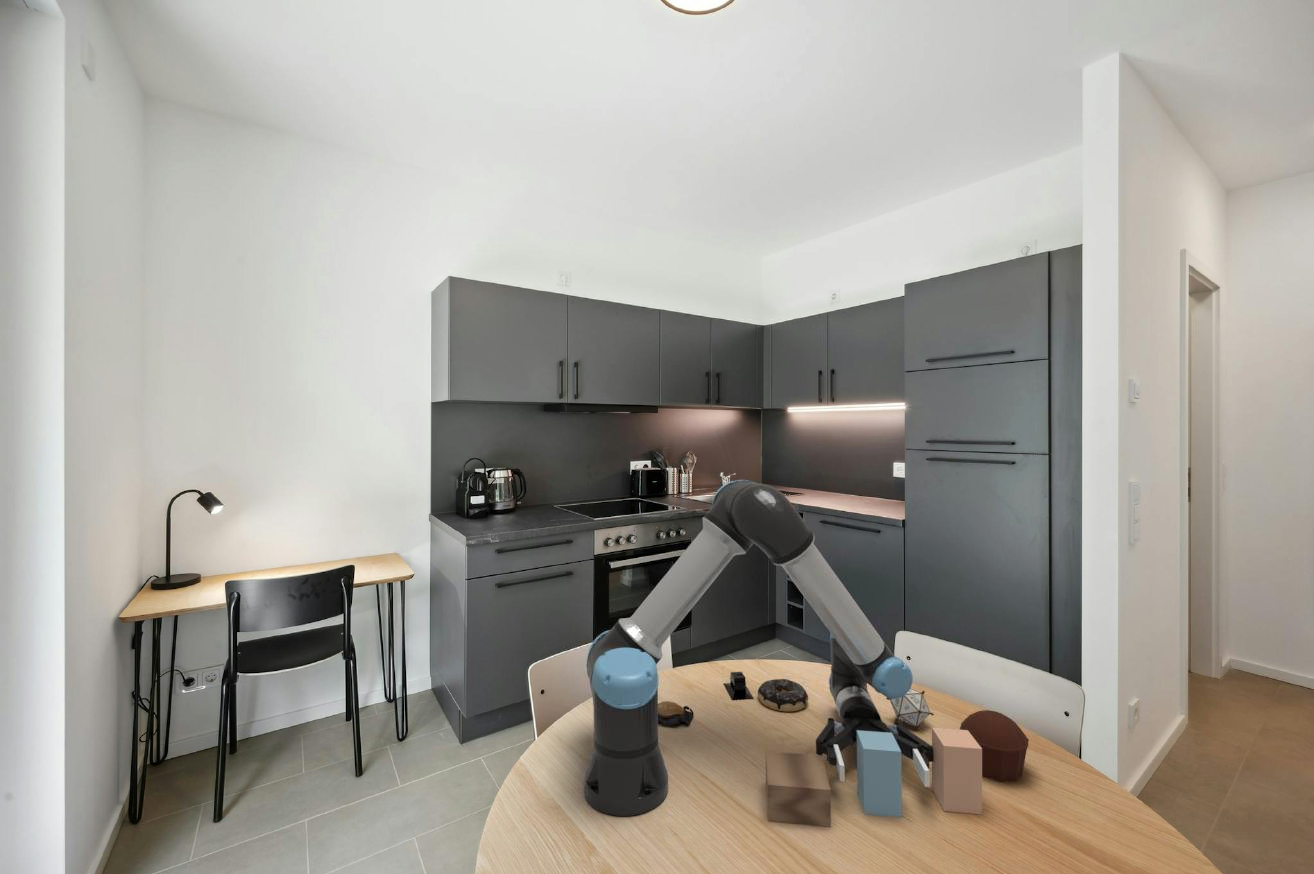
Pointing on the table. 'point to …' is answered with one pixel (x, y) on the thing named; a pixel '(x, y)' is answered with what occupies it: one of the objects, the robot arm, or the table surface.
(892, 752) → the blue brick
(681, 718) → the brown and black lump
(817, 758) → the base block
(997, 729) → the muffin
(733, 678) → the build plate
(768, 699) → the donut
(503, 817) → the table surface
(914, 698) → the game die
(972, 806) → the clay brick
